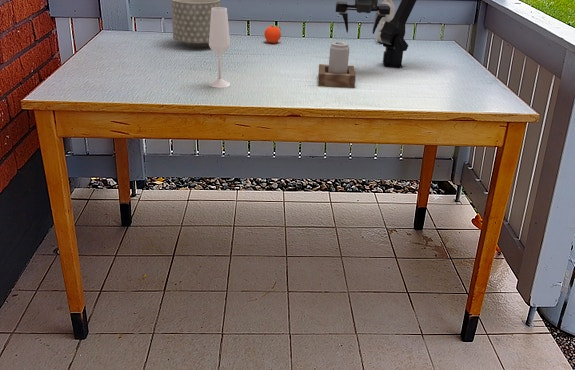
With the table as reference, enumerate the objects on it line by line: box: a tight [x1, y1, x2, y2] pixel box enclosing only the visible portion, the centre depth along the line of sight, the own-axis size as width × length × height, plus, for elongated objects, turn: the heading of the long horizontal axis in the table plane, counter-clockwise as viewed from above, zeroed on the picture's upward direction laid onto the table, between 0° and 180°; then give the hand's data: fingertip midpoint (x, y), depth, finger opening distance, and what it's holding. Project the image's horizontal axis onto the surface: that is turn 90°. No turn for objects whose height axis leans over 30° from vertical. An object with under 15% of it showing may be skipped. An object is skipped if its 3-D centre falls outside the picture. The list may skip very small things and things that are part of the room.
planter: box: [170, 0, 221, 48], centre depth 227 cm, size 19×19×18 cm
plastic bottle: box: [375, 0, 396, 44], centre depth 243 cm, size 6×7×20 cm
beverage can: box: [328, 41, 350, 74], centre depth 191 cm, size 6×6×12 cm
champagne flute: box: [208, 6, 231, 88], centre depth 181 cm, size 7×7×24 cm
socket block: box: [317, 63, 357, 89], centre depth 193 cm, size 12×12×4 cm
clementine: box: [264, 25, 282, 44], centre depth 239 cm, size 8×7×7 cm
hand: (360, 33), depth 203 cm, fingers open, 9 cm apart
